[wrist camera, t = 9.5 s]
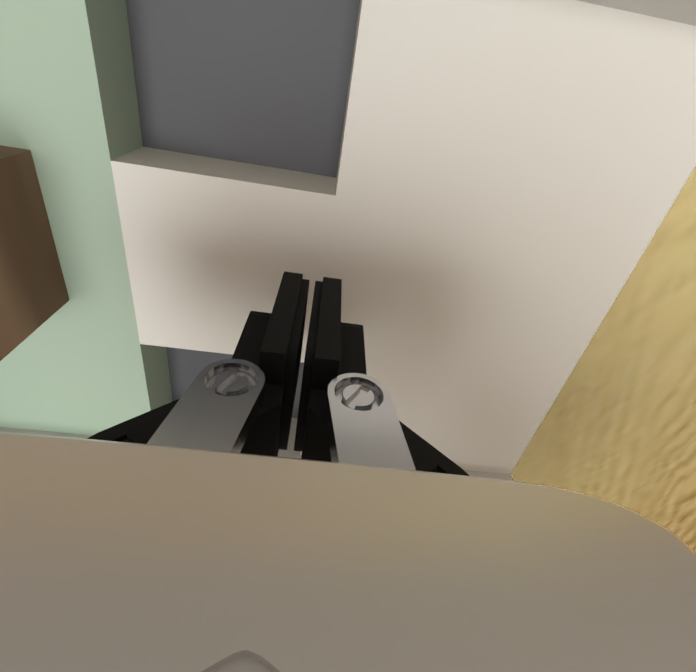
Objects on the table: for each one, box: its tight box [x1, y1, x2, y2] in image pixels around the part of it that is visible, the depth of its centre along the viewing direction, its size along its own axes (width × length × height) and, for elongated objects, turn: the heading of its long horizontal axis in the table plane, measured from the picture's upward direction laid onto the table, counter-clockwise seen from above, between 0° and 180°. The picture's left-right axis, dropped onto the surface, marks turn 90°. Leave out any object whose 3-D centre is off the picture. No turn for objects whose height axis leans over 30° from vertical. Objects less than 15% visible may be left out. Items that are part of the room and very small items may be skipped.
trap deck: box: [0, 0, 696, 481], centre depth 13 cm, size 23×18×6 cm
